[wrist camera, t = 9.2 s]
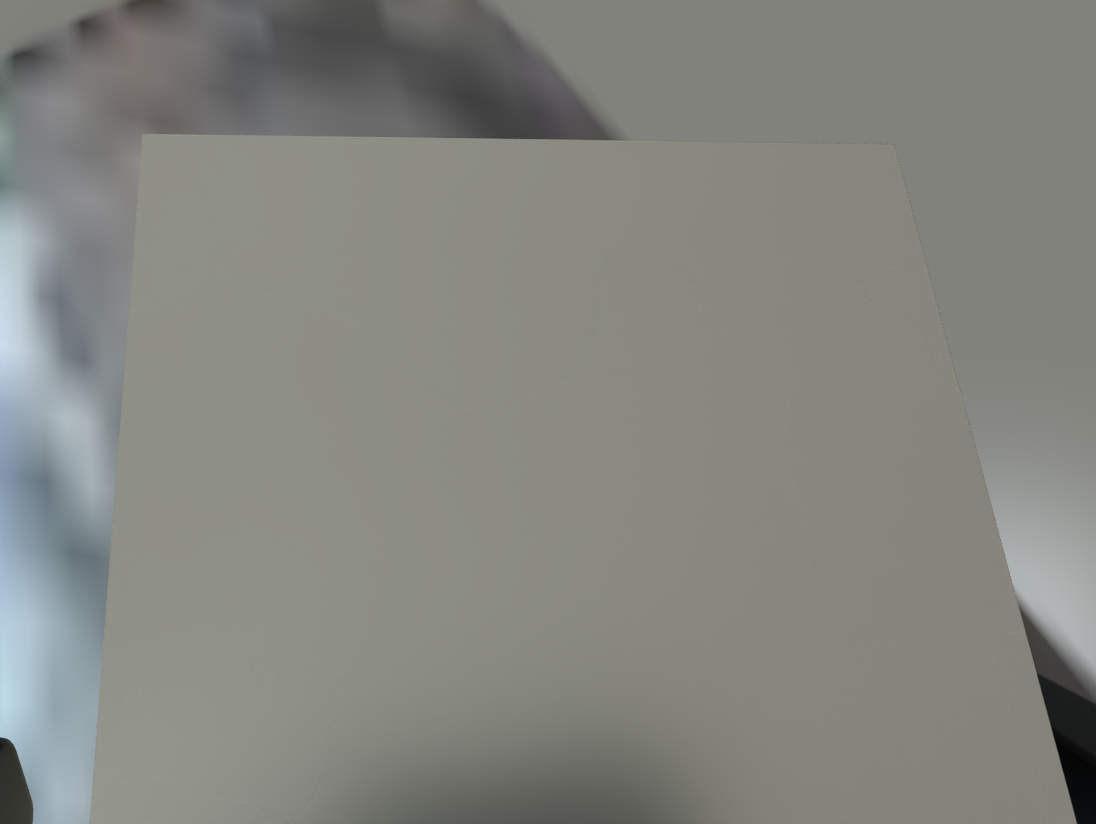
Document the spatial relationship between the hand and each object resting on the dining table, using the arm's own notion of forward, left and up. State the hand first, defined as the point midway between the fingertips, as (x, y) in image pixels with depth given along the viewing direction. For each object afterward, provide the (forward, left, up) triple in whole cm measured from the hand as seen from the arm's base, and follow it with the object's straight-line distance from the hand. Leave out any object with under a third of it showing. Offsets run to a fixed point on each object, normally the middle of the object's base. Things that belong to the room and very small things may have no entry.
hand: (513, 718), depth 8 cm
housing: (+1, 0, -8) cm, 8 cm away
